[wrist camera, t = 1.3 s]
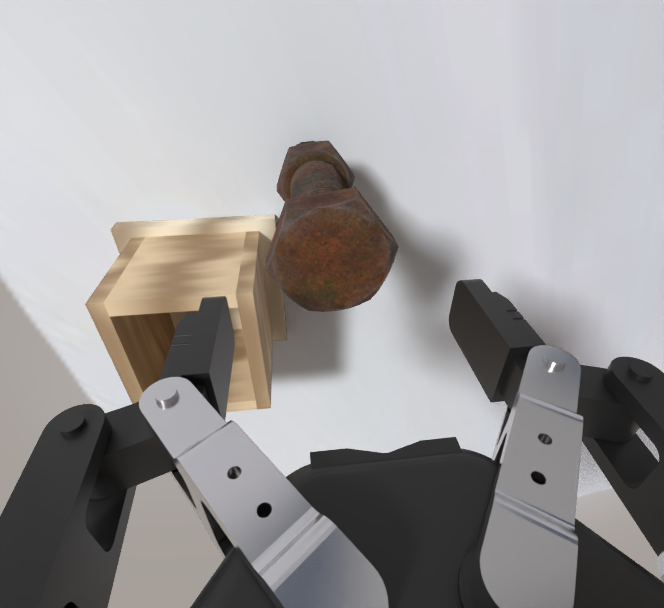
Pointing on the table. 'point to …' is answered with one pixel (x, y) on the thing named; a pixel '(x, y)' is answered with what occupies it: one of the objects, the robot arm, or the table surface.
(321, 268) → the bolt
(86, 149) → the table surface
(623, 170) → the table surface
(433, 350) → the table surface
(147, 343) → the socket block
